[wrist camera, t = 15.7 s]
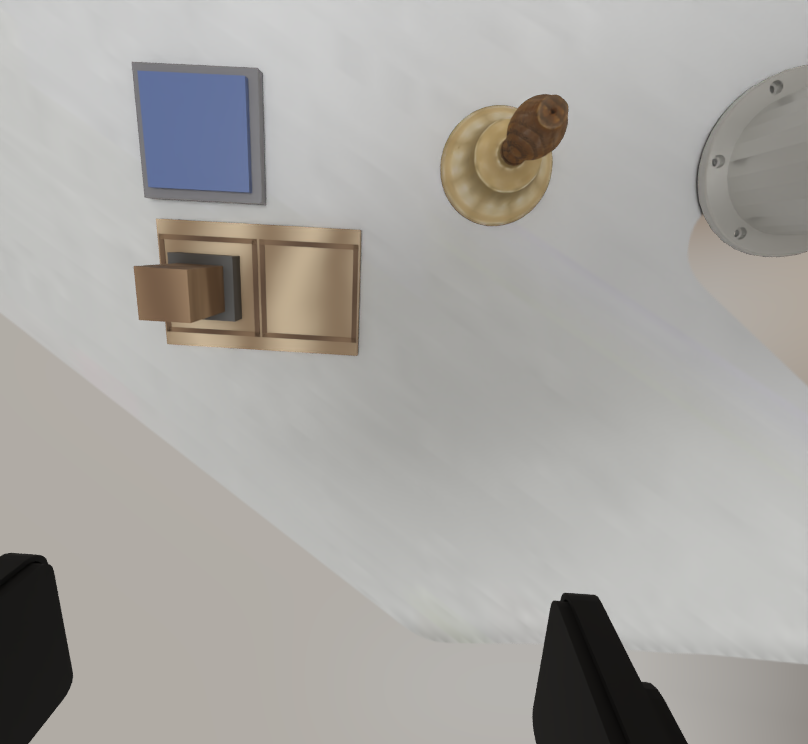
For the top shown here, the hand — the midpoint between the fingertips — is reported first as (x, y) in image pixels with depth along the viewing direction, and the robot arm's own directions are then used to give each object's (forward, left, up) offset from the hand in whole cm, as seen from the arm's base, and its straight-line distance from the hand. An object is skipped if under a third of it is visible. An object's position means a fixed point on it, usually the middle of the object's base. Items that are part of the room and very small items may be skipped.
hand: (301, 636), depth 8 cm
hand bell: (-7, -13, -31) cm, 34 cm away
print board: (+11, -3, -30) cm, 32 cm away
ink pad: (+15, -14, -30) cm, 37 cm away
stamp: (+15, -3, -30) cm, 33 cm away
